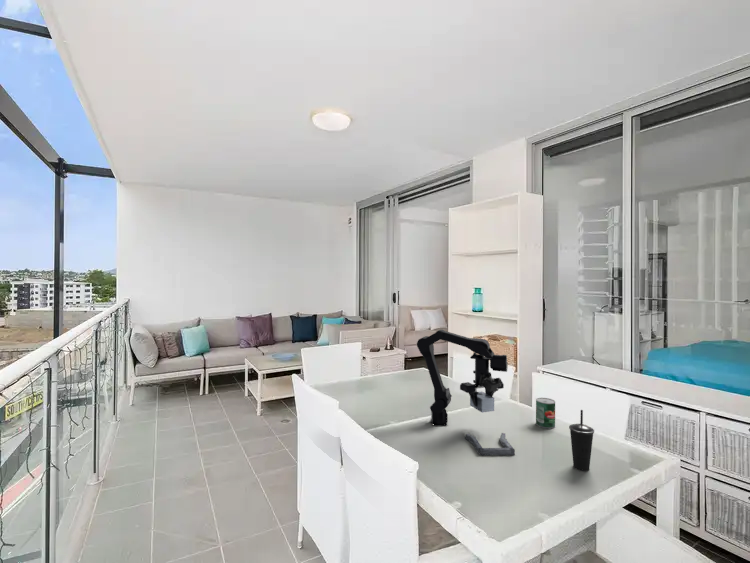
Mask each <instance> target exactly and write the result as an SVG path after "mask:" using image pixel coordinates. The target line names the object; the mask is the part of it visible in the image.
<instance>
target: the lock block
mask: <svg viewBox="0 0 750 563" xmlns="http://www.w3.org/2000/svg"><path fill="white" fill-rule="evenodd" d="M478 392H479V393H478V395H477V407H475V406H474V404H473V401H472V399H471V397H470V396H469V397H470V398H469V401H470V402H469V406H470V407H472V408H474V409H475V410H477V411H479V412H480V413H489V412H494V411H495V397H493V396H490V395H488V394H486V393H485V392H483V391H478Z"/></svg>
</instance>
